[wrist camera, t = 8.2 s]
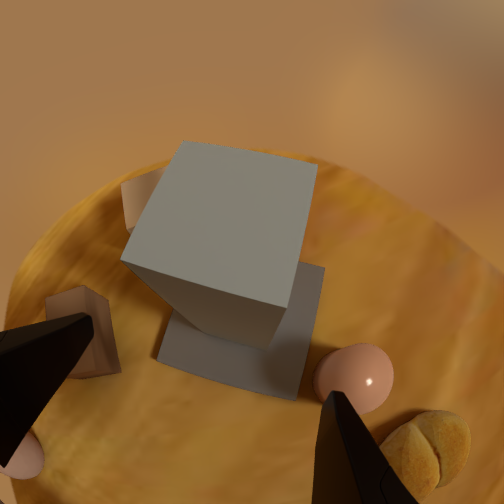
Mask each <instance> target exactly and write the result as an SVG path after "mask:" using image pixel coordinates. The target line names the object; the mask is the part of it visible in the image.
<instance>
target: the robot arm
mask: <svg viewBox="0 0 504 504" xmlns="http://www.w3.org/2000/svg"><path fill="white" fill-rule="evenodd" d="M93 337H94V326H93V320H92V317H91V316H90V315H89V314H87V313H85V312H80V313H76V314H72V315H68V316H64V317H60V318H56V319H52V320H48V321H44V322H40V323H35V324H31V325H27V326H23V327H19V328H15V329H10V330H6V331H2V332H0V465H1V466H2V467H3V468H5V467H6V466H7V464H8V463H9V461H10V459H11V458H12V456H13V454H14V453H15V451H16V450H17V448H18V446H19V445H20V443H21V442H22V440H23V439H24V437H25V436H26V435H25V434H27V432H28V431H29V429H30V428H31V426H32V425H33V423H34V422H35V421H36V419H37V418H38V416H39V415H40V413H41V412H42V410H43V409H44V408H45V406H46V405H47V403H48V402H49V401H50V399H51V398H52V396H53V395H54V394H55V392H56V391H57V390H58V388H59V387H60V386H61V384H62V383H63V382H64V380H65V379H66V378H67V376H68V375H69V374H70V372H71V371H72V370H73V368H74V367H75V366H76V364H77V363H78V361H79V360H80V358H81V356H82V355H83V353H84V351H85V350H86V348H87V347H88V345H89V344H90V342H91V340H92V339H93ZM0 504H4V503H3V502H2V501H1V500H0ZM311 504H419V503H418V502H417V500H416V499H415V498H414V497H413V496H412V495H411V493H410V492H409V491H408V490H407V488H406V487H405V486H404V484H403V483H402V482H401V480H400V479H399V477H398V476H397V474H396V473H395V471H394V470H393V468H392V467H391V465H389V462H388V460H387V459H386V457H385V456H384V454H383V453H382V451H381V449H380V448H379V446H378V445H377V443H376V442H375V440H374V438H373V437H372V435H371V434H370V432H369V431H368V429H367V428H366V426H365V424H364V423H363V421H362V420H361V418H360V417H359V415H358V413H357V412H356V410H355V409H354V407H353V406H352V404H351V402H350V401H349V399H348V398H347V396H346V395H345V393H344V392H342V391H337V390H332V391H331V392H330V393H329V395H328V397H327V399H326V400H325V402H324V404H323V406H322V410H321V416H320V423H319V429H318V435H317V441H316V447H315V462H314V478H313V492H312V503H311Z"/></svg>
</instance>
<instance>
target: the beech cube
mask: <svg viewBox="0 0 504 504" xmlns="http://www.w3.org/2000/svg"><path fill="white" fill-rule="evenodd" d="M167 167H168V166H165V167H162V168H159V169H157V170H154V171H151V172H149V173H146V174H143V175H141V176H138V177H136V178H133V179H131V180H128V181H126V182H123V183H121V191H122V200H123V208H124V216H125V223H126V230H127V231H128V232H129V233H130V235H131V234H132V232H133V230H134V228H135V226H136V224H137V222H138V220H139V218H140V216H141V214H142V212H143V210H144V208H145V206H146V204H147V202H148V201H149V199H150V197H151V195H152V193H153V191H154V189H155V188H156V186H157V184H158V182H159V180H160V179H161V177H162V175H163V173H164V172H165V170H166V168H167Z"/></svg>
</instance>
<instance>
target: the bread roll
mask: <svg viewBox="0 0 504 504" xmlns="http://www.w3.org/2000/svg"><path fill="white" fill-rule="evenodd" d="M470 446H471V435H470V430H469V427H468V425H467V424H466V422H465V421H464V420H463V419H462V418H460V417H459V416H457V415H456V414H454V413H451V412H448V411H442V410H436V411H435V410H434V411H427V412H424V413H421V414H419V415H417V416H416V417H414V418H413V419H412V420H410V421H409V422H407V423H405V424H403V425H401V426H400V427H398V428H397V429H396V430H394V431H393V432H392V433H391V434H390V435H389V436H388V437H387V438H386V439H385V440H384V441H383V443H382V444H381V445H380V446H379V448H380V449H381V451H382V453H383V454H384V456H385V457H386V459H387V460H388V462H389V465H391V467H392V468H393V470H394V471H395V473H396V474H397V476H398V477H399V479H400V480H401V482H402V483H403V484H404V486H405V487H406V488H407V490H408V491H409V492H410V493H411V495H412V496H413V497H414V498H415V499H416V500H417V502H418V503H420V502H421V501H422V500H424V499H425V498H426V497H427V496H428V495H429V494H430V493H431V492H432V491H433V489H434V488H439V487H442V486H445V485H447V484H448V483H450V482H451V481H452V480H453V479H454V478H456V477H457V475H458V474H459V473H460V472H461V470H462V469H463V467H464V465H465V463H466V461H467V459H468V456H469V451H470Z"/></svg>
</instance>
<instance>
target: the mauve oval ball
mask: <svg viewBox="0 0 504 504" xmlns="http://www.w3.org/2000/svg"><path fill="white" fill-rule="evenodd" d="M25 435H26V436H25V437H24V439H23V440H22V442H21V443H20V445H19V446H18V448H17V450H16V451H15V453H14V454H13V456H12V458H11V459H10V461H9V463H8V464H7V466H6V467H5V468H3V467H2V466H1V465H0V472H1V473H3V474H5V475H7V476H9V477H12V478H15V479H30V478H33V477H35V476H37V475H38V474H39V473H40V472H41V470H42V468H43V466H44V453H43V450H42V447H41V445H40V444H39V442H38V441H37V439H36V438H35V437H34V436H33V435H32V434H31V433H30V432H27V434H25Z"/></svg>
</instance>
